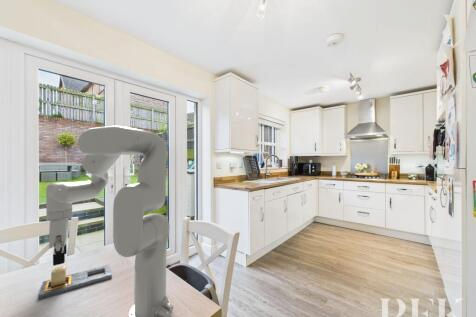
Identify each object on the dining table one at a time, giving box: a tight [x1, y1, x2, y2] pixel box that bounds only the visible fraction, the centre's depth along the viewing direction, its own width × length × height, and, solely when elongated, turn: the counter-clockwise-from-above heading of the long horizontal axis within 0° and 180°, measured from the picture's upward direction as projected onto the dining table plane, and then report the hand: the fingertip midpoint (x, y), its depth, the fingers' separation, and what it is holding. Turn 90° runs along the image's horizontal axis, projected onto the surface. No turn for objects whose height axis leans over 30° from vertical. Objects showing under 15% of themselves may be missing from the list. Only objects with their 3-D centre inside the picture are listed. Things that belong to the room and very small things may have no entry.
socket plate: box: [38, 264, 113, 300], centre depth 83 cm, size 22×10×2 cm, turn 127°
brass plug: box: [50, 265, 67, 289], centre depth 79 cm, size 4×4×7 cm
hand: (60, 259), depth 79 cm, fingers open, 9 cm apart
